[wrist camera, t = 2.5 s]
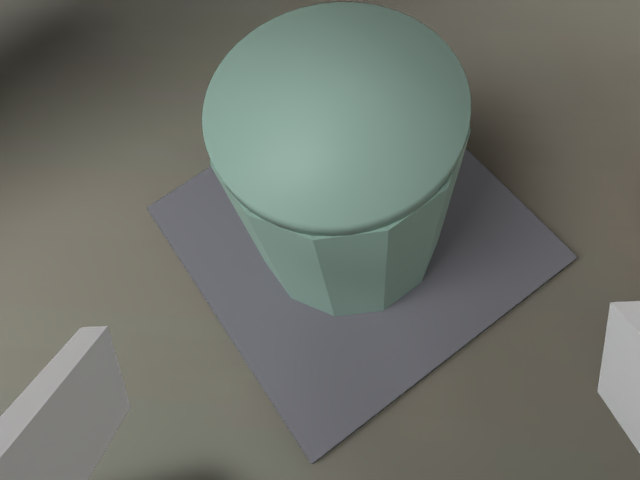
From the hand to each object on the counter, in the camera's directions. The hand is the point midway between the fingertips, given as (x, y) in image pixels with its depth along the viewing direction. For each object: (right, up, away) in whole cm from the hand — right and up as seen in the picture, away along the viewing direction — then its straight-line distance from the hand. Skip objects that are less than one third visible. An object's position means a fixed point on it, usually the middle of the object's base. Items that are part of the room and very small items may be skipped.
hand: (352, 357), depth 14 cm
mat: (+1, +3, +17) cm, 17 cm away
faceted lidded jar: (+1, +4, +16) cm, 17 cm away
